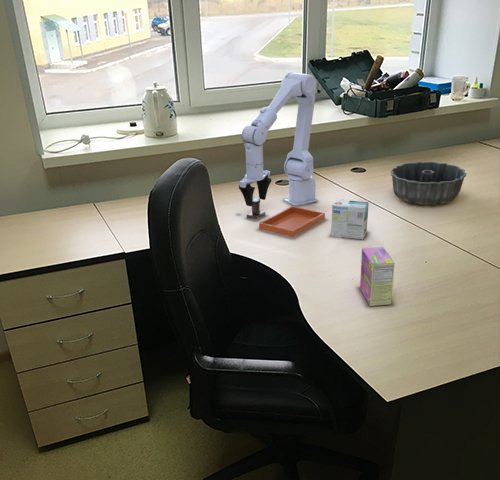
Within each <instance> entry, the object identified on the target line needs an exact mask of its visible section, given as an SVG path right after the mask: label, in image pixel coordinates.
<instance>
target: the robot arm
mask: <svg viewBox="0 0 500 480" xmlns="http://www.w3.org/2000/svg"><path fill="white" fill-rule="evenodd" d="M317 83H318V81H317V80H316V78H315V76H314V75H313V74H311V73H299V72H292V71H289V72H286V74H285V75H284V77H283V78H282V79H281V86H280V88H279V90H278V91H277V92H276V94H275V95H274V97H273V98H272V100H271V102H270V104H269V105H268V106H264V107H262V108H260V110H259V113H258V114H257V115H256V116H255V118H254V119H253V120H252V121H251V123H250V124H248V125H246V126H244V128H243V129H242V131H241V135H240V139H241V141H242V142H243V147H244V149H245V170H246V172H245V174H244V175H243V176H244V177H243V178H242V179H241V180H240V181H239V184H238V189H239V191H240V192H241V194H242V197H243V199H244V202H245V206H247V207H252V204H253V199H254V193H255V189H256V186H255V187H254V186H252V185H253V184H254V183H256V185H257V190H258V199H260V200H263V201H265V200H266V198H267V193H268V190H269V187H270V185H271V183H272V178H271V171H270V170H267V169H265V170H264V143H266V140H267V136H268V133H269V130H270V129H271V127H272V126H273V125H274V124H275V123H276V121H277V119H278V115H277V114H278V113H279V111H280V110H281V109H282V108H283V107H284V106H285V105H286V103H287V102H288V101H289V100H290V99H291V98H295V101H297V103H298V105H297V113H296V121H295V129H294V139H293V144H292V145H293V148H292V150H291V151H289V152H288V153H287V155H286V158H285V159H286V160H285V162H284V165H283V171H284V174H286V175H287V176H286V177H287V178H288V197H287V198H284V199H283V200H284V201H286V202H288V204H289V203H290V204H291V205H292V206H300V205H305V204H312V203H316V202H317V199H316V191H317V190H316V189H317V187H316V185H317V184H316V180H315V177H314V176H313V174H314V168H315V167H314V156H313V155H312V154H311V153H310V151H309V146H310V139H311V131H312V125H313V116H314V110H315V104H316V103H315V102H316V91H317V85H318V84H317Z"/></svg>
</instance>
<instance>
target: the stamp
mask: <svg viewBox="0 0 500 480" xmlns="http://www.w3.org/2000/svg"><path fill="white" fill-rule="evenodd" d="M265 216H266V211H263V210H261V199H260V198H253V204H252V206H251V212H249V213H246V219H251V220H258V219H261V218H263V217H265Z"/></svg>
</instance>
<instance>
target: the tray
mask: <svg viewBox="0 0 500 480" xmlns="http://www.w3.org/2000/svg"><path fill="white" fill-rule="evenodd" d="M325 219H326V213H325V212H322V211H317V210H312V209H309V208H308V209H307V208H303V207H298V206H295V205H291V206H289V207H287V208H285V209H284V210H281V211H279V212H277V213H276V214H273V215H272V216H270V217H268V218H265V219H264V220H262V221H260V222H259V223H258V229H259V230H261V231H267V232H270V233H273V234H274V233H275V234H279V235H282V236H286V237H290V238H295V237H296V236H298V235H300V234H301V233H303V232H305V231H306V230H308V229H310V228H313V226H316V225H318V224H319V223H321V222H322V221H324V220H325Z"/></svg>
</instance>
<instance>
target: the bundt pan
mask: <svg viewBox="0 0 500 480" xmlns="http://www.w3.org/2000/svg"><path fill="white" fill-rule="evenodd" d="M465 171H466V170H465V169H464V168H461V167H460V166H458V165H455V164H450V163H447V162H437V161H416V162H405V163H402V164H400V165H395V167H393V168H391V169H390V176H392V177H391V181H392V191H393V193H394V195H395V196H396V198H399V199H400V200H401V201H404V202H409V203H410V204H411V205H414V204H418V205H420V206H424V205H428V204H429V205H430V206H434V205H436V204H438V205H442V204H445V203H450V202H452V201H454V200H455V199H456V197H457V196H458V195H459V194H460V192H461V190H462V186H463V183H464V180H465V178H466V177H467V172H465Z"/></svg>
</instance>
